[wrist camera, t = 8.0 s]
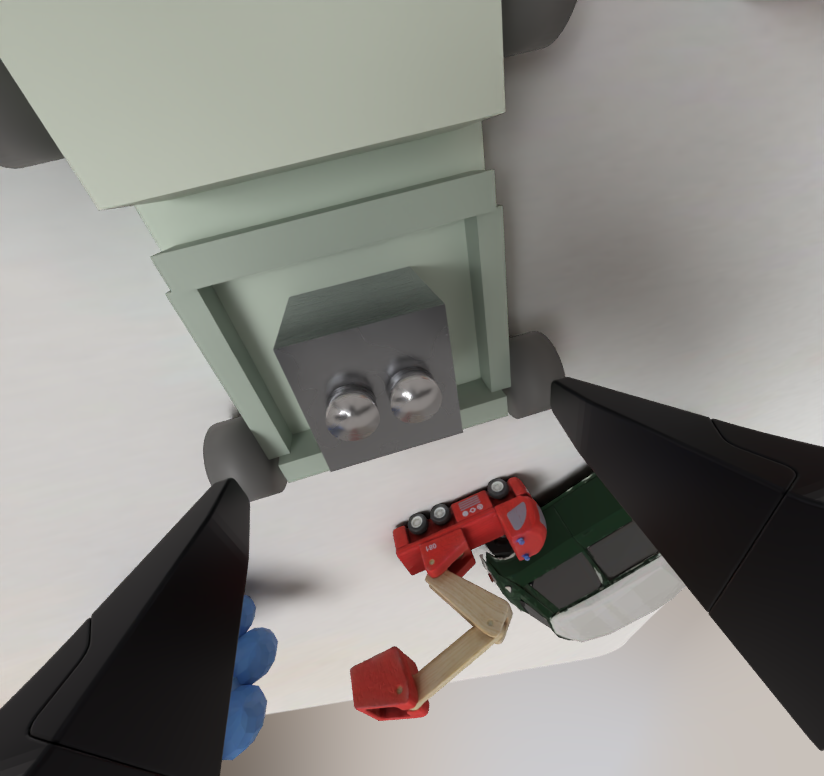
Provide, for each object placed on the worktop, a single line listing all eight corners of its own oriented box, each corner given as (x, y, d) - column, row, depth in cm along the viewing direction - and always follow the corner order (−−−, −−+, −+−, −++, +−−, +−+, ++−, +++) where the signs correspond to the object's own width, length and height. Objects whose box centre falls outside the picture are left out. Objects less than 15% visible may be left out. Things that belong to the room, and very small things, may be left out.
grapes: (89, 625, 23) (-93, 969, 13) (90, 565, 20) (-138, 943, 10) (269, 622, 27) (237, 877, 17) (291, 572, 25) (267, 841, 15)
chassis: (-96, -68, 8) (-551, -332, 4) (513, -177, 9) (672, -476, 5) (263, 474, 19) (245, 560, 15) (524, 395, 20) (577, 453, 16)
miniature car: (685, 463, 29) (793, 550, 22) (510, 572, 32) (559, 675, 25) (664, 402, 24) (794, 488, 17) (461, 536, 27) (505, 652, 21)
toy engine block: (329, 396, 16) (331, 488, 11) (289, 296, 14) (269, 363, 9) (428, 368, 17) (470, 446, 12) (409, 266, 14) (453, 313, 9)
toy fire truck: (525, 494, 26) (616, 637, 18) (362, 565, 26) (379, 737, 18) (518, 467, 24) (615, 613, 16) (342, 544, 24) (351, 725, 16)
